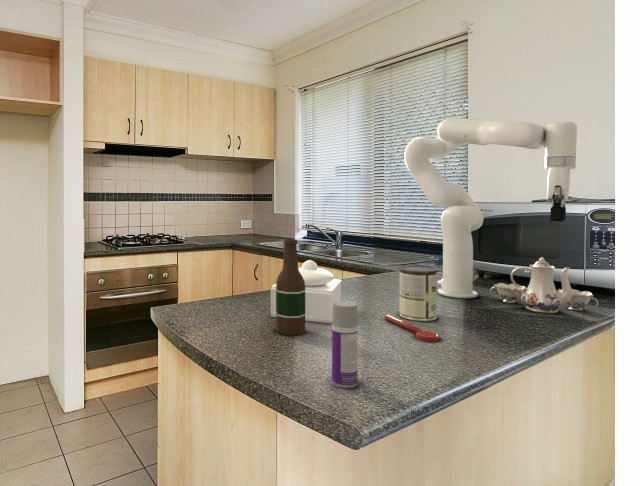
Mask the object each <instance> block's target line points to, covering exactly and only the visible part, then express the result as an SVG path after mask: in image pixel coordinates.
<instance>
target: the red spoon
mask: <svg viewBox="0 0 640 486" xmlns="http://www.w3.org/2000/svg"><path fill="white" fill-rule="evenodd" d="M384 319H385V320H386V321H388V322H391V323H392V324H395V325H397V326H399V327H401V328H404V329H405V330H408V331H410V332H412V333H414V334H415V337H416V339H418V340H421V341H423V342H437V341H439V334H437V333H436V332H432V331H427V330H423V329H421V328H419V327H416V326H414V325H412V324H410V323H408V322H405V321H403V320H400V319H398V318H396V317H394V316H392V315H389V314H385V315H384Z"/></svg>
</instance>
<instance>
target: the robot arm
mask: <svg viewBox="0 0 640 486" xmlns="http://www.w3.org/2000/svg"><path fill="white" fill-rule="evenodd" d="M436 129H437V130H436V132H437V136H436V137H434V138H432V137H426V136H417V137H414V138H413V139H411V140H410V141H409V142H408V143H407V145H406V147H405V150H404V155H403V158H404V164H405V166H406V168H407V170H408V172H409V173H410V175H411V177H412V178H413V179H414V180H415V182H416V183H417V185H418V186H419V188H420V190H421V191H422V192H423V194H424V196H425V197H426V198H427V200H428V201H429V202H430V203H431V205H433V206H434V207H436V208H446V209H445V210H444V211H443V212H442V214H441V217H440V228H441V234H442V278H441V279H440V280H437V285H439V286H440V288H438V289H437V294H438V295H440V296H444V297H449V298H456V299H474V298H477V297H478V296H479V295H478V291H475V290H474V289H473V287H474V286H473V285H474V284H473V283H474V282H473V281H474V242H473V236H472V232H473V231H476V230H478V229H480V228H481V227H482V226H483V223H484V215H483V211H482V210H481V209H480V207H479V206H478V204H477V203H476V202H475V201H474V199H473V198H472V197H471V195H470V194H469V193H468V191H467V190H466V188H464V187H463V186H462V185H461V184H459V183H457V182H453V181H447V180H446V179H445V177H444V176H443V175H442V174H441V172H440V171H439V169H438V168H437V167H436V166H435V165H434V164H432V162H436V161H440V160H443V159H444V158H445V157H447V156H448V155H450V154H452V153H453V152H455V151H456V150H458V149H459V148H460V147H462V146H463V145H465V144H469V145H475V146H476V145H477V146H487V145H497V146H498V145H500V146H509V147H518V148H524V149H529V150H539V149H544V170H548V172H547V184H546V201H547V202H551V207H550V213H549V214H550V215H549V216H550V217H549V218H550V219H549V221H550V222H560V223H561V222H562V223H563V222H564V221H566V216H567V215H566V214H567V206H566V202H567V201H568V199H569V194H570V185H571V170H573V169H576V168H577V167H576V166H577V163H576V162H577V140H578V139H577V138H578V137H577V135H578V126H577V124H576V122H574V121H556V122H551V123H549V124H547V125H540V124H536V123H532V122H526V121H511V120H492V119H480V118H479V119H478V118H463V117H447V118H445V119H443V120H442V121H440V122H439V124H438V126H437V128H436Z"/></svg>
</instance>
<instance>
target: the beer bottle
mask: <svg viewBox="0 0 640 486" xmlns="http://www.w3.org/2000/svg"><path fill="white" fill-rule="evenodd" d="M282 243H283V247H284V248H283V261H282V263H283V264H282V269H281V271H280V272H279V274H278V276H277V279H276V281H275V282H276V283H275V284H276V317H275V327H276V331H277V333H278V334H281V335H284V336H299V335H301V334H304V333H305V332H306V320H305V282H304V279H303V277H302V275H301V273H300V272H299V269H298V268H299V264H298V263H299V262H298V261H299V260H298V247H297V245H298V240H297V239H296V238H285V239H283V242H282Z"/></svg>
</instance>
